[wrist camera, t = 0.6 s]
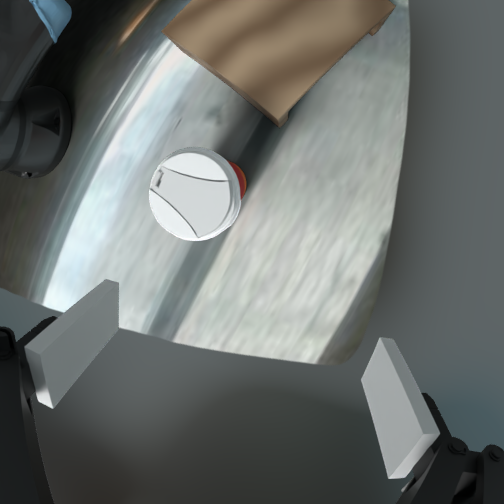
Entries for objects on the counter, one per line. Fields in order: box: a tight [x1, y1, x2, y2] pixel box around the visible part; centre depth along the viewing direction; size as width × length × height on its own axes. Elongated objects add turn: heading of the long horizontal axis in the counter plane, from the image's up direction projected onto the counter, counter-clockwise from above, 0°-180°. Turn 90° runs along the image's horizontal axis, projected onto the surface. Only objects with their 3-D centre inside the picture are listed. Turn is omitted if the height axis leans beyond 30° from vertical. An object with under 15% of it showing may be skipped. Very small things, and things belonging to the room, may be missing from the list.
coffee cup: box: [149, 147, 246, 241], centre depth 33 cm, size 8×8×15 cm
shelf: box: [161, 0, 396, 128], centre depth 30 cm, size 17×20×8 cm
